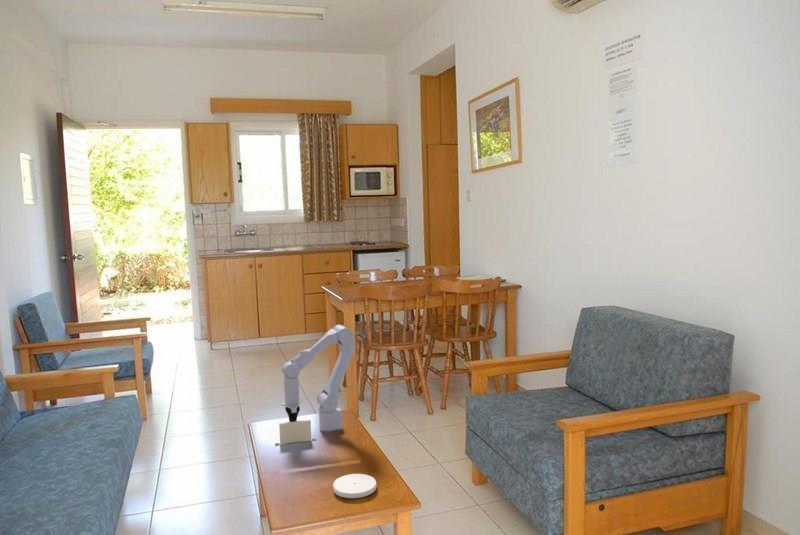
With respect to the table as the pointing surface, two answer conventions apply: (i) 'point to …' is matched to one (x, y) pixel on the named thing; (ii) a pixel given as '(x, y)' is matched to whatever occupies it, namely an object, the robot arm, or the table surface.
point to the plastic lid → (354, 485)
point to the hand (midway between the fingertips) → (293, 424)
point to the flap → (295, 431)
